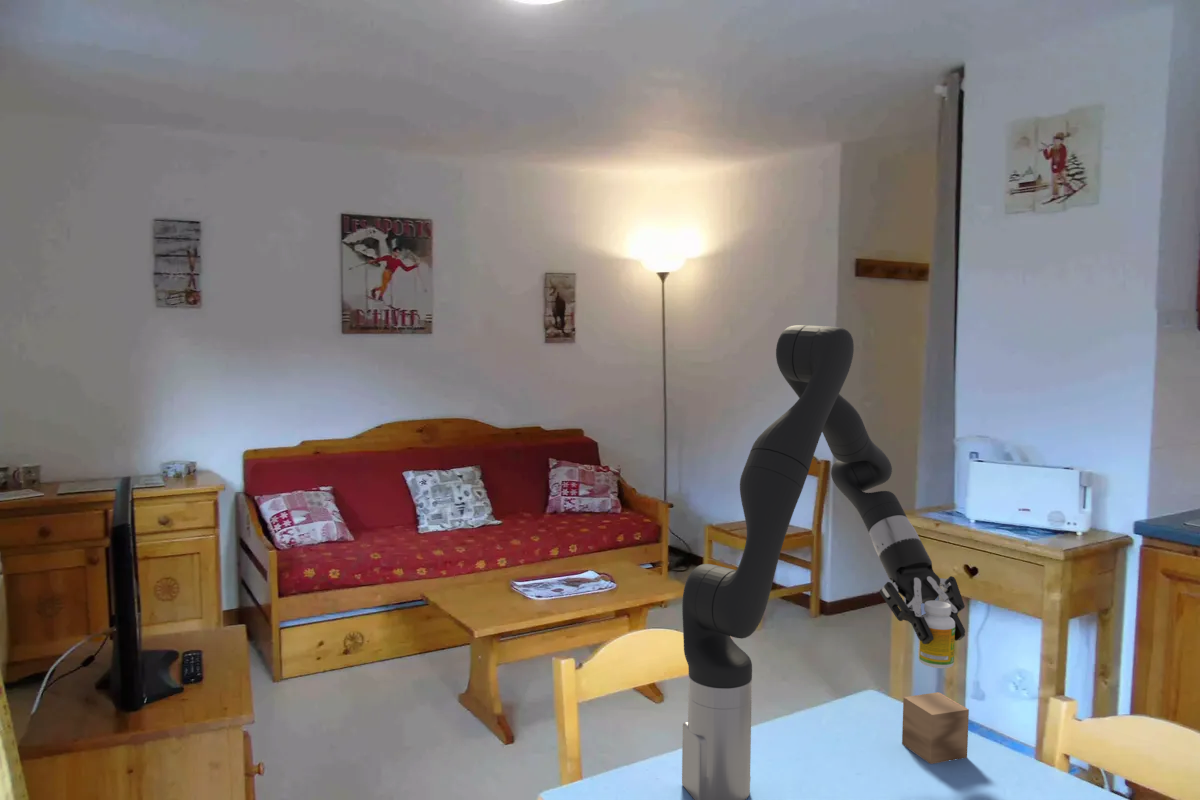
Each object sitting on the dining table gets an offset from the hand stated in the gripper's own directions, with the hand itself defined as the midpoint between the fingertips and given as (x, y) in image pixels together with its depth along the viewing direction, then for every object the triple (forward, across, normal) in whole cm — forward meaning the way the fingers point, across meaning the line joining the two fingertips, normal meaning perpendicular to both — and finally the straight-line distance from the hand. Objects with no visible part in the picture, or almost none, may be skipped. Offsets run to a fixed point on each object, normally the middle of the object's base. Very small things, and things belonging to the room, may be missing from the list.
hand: (944, 639), depth 134 cm
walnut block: (+12, 0, +15) cm, 19 cm away
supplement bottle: (+2, 0, +5) cm, 5 cm away
